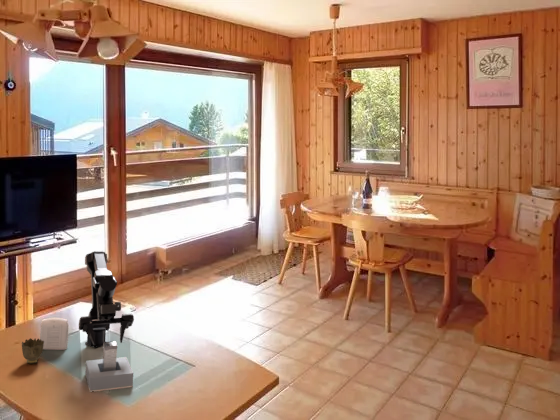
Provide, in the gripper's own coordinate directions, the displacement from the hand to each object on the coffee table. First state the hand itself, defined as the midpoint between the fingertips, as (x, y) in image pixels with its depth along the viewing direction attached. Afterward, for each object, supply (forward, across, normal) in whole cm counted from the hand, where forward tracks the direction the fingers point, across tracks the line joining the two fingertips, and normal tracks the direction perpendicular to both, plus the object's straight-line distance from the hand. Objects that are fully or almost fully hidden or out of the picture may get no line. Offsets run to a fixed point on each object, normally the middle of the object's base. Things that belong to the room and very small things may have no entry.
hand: (108, 343), depth 189 cm
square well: (+12, 0, +4) cm, 12 cm away
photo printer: (-12, -16, +28) cm, 35 cm away
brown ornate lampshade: (-3, -24, +20) cm, 31 cm away
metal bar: (+12, 0, +4) cm, 12 cm away
